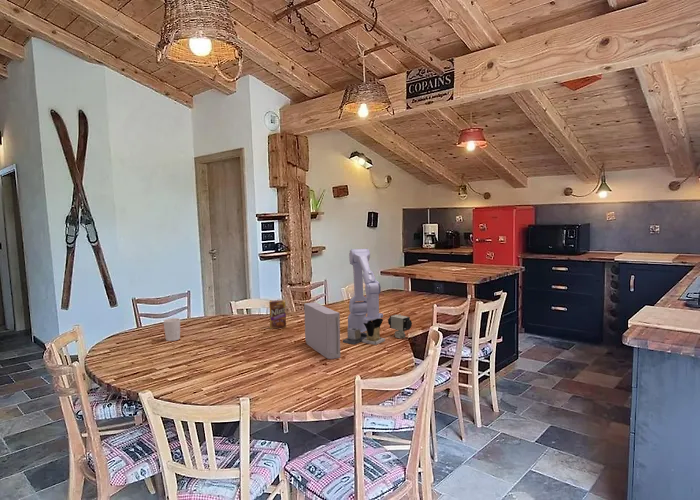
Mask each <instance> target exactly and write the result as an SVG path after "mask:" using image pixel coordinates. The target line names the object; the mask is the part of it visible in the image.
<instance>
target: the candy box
mask: <svg viewBox="0 0 700 500" xmlns="http://www.w3.org/2000/svg"><path fill="white" fill-rule="evenodd" d="M286 302H287V300H286V299H282V300H281V299H279V300H269V329H270V330H273V329H276V328H277V329H287V316H286V315H287V311H286V310H287V307H286V306H287V305H286V304H287V303H286ZM277 329H276V330H277Z"/></svg>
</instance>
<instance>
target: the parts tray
mask: <svg viewBox="0 0 700 500" xmlns="http://www.w3.org/2000/svg"><path fill="white" fill-rule="evenodd" d="M385 341H386V338H385V337H384V338H383V337H380V339H378V340H376V341H371V340H367V338H365V339H363V340H362V342H361V343H364V344H369V345H374V346H377V345H379V344H382V343H384V342H385Z"/></svg>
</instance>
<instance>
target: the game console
mask: <svg viewBox="0 0 700 500" xmlns="http://www.w3.org/2000/svg"><path fill="white" fill-rule="evenodd" d="M303 304H304V305H303V306H304V307H303V308H304V312H303V313H304V339H305V343H306V345H308V346H309V347H310V348H312V349H313V350H314V351H316V352H317V353H319V354H320V355H322V356H323V357H324V358H326V359H328V360H333V359H334V360H335V359H340V358H341V320H340V317H341V316H340V312H339V311H336V310H333V309H331V308H328V307H327V306H324V305H321V304H319V303H318V302H315V301H314V302H307V303H303Z"/></svg>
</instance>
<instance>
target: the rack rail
mask: <svg viewBox="0 0 700 500" xmlns="http://www.w3.org/2000/svg"><path fill="white" fill-rule="evenodd" d="M360 334H361V339H359V340H357V341H352V340H348V337H347V338H345V339H342V343H344V344H347V345H348V344H349V345H353V346H356V345H358V344H360V343H363V342H362V340H363V339H365V338H367V332H366V331H364V332H360Z"/></svg>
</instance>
